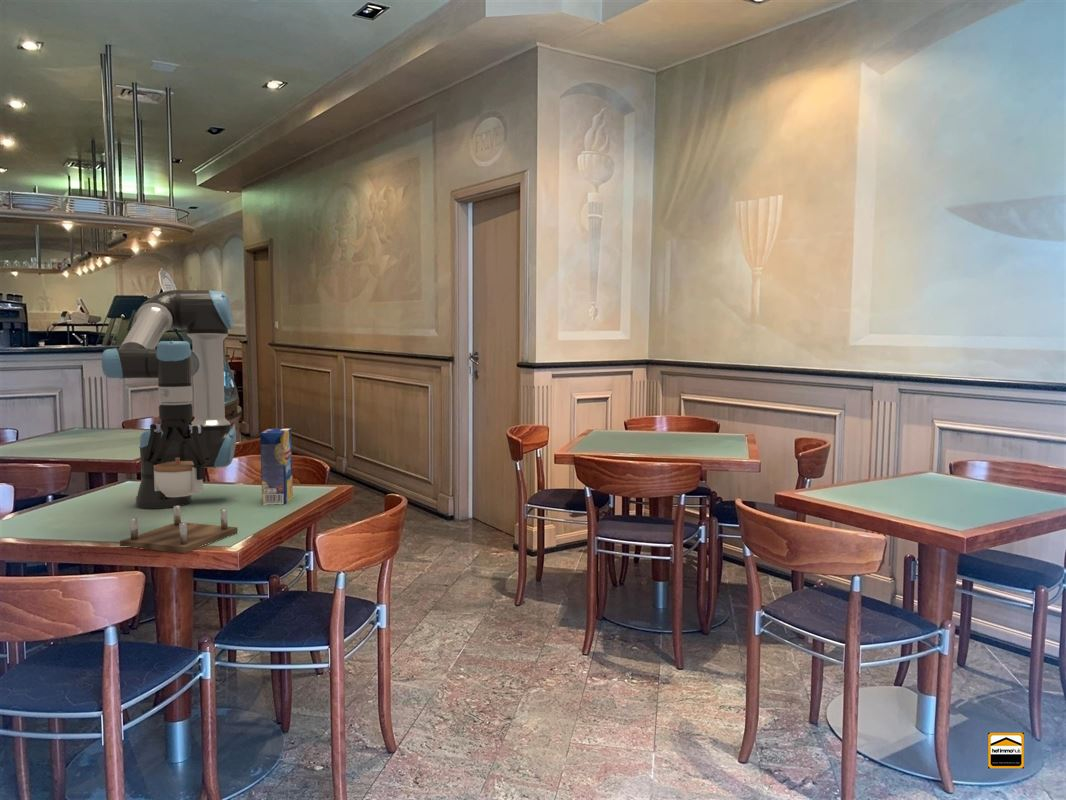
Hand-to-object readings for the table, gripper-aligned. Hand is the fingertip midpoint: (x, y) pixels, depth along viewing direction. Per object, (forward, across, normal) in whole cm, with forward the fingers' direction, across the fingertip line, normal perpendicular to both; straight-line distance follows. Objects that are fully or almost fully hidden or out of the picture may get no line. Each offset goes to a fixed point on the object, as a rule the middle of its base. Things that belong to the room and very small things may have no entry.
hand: (178, 491), depth 187 cm
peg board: (+12, 0, 0) cm, 12 cm away
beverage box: (+12, -3, +45) cm, 47 cm away
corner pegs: (+11, 0, 0) cm, 11 cm away
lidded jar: (+1, 0, 0) cm, 1 cm away
